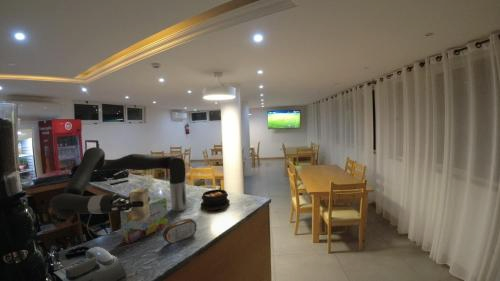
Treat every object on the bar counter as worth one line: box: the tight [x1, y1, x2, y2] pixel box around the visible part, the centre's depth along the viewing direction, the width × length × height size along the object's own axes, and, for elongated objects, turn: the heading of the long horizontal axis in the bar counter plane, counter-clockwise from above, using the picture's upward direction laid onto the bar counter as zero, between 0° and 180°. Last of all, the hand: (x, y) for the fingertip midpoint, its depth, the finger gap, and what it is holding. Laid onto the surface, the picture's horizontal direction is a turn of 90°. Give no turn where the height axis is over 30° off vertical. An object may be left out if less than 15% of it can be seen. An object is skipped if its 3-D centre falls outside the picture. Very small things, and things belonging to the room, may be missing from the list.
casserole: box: [200, 189, 230, 211], centre depth 140 cm, size 25×19×8 cm
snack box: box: [119, 196, 169, 245], centre depth 107 cm, size 21×6×15 cm, turn 149°
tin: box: [162, 218, 198, 244], centre depth 99 cm, size 15×3×8 cm, turn 130°
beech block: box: [128, 187, 150, 221], centre depth 89 cm, size 5×5×12 cm
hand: (146, 201), depth 89 cm, fingers closed on beech block, 5 cm apart
